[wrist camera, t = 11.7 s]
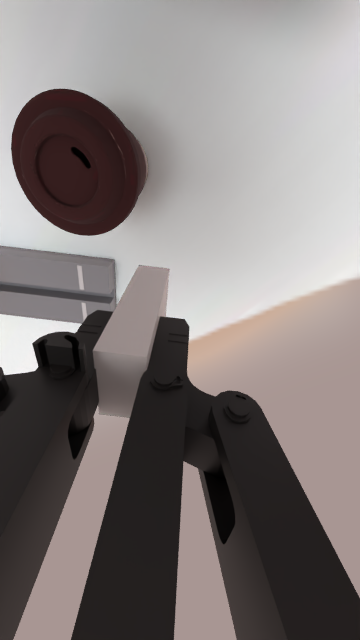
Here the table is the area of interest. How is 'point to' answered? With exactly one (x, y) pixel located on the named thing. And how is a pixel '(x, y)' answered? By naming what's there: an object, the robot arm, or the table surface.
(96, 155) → the coffee cup
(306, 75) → the table surface
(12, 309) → the slider console
